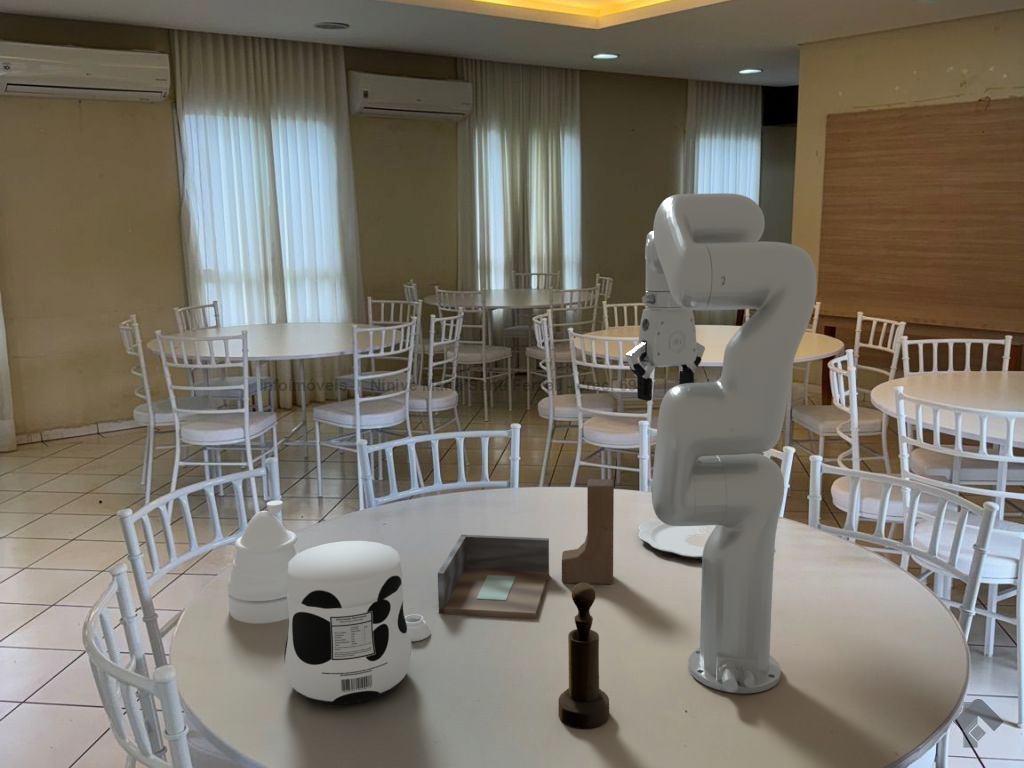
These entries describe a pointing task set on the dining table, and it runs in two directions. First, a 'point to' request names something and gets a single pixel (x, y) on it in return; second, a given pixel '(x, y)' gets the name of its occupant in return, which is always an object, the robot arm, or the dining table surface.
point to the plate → (671, 538)
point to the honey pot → (261, 569)
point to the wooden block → (594, 539)
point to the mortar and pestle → (583, 669)
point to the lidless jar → (417, 627)
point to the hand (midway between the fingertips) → (665, 396)
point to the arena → (494, 576)
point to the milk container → (346, 622)
